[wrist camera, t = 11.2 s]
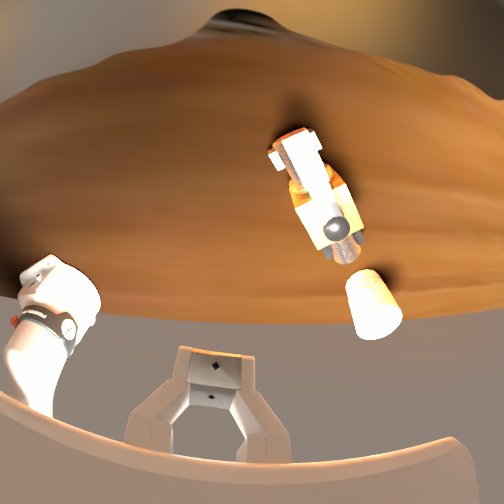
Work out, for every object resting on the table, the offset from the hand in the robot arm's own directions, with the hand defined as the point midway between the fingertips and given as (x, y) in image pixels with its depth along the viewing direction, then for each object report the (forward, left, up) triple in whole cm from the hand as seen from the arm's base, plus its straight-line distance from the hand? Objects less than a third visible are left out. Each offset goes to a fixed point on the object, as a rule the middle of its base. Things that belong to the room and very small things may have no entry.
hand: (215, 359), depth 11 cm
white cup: (+17, -26, -31) cm, 44 cm away
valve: (+10, -8, -31) cm, 34 cm away
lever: (+8, -3, -23) cm, 25 cm away
